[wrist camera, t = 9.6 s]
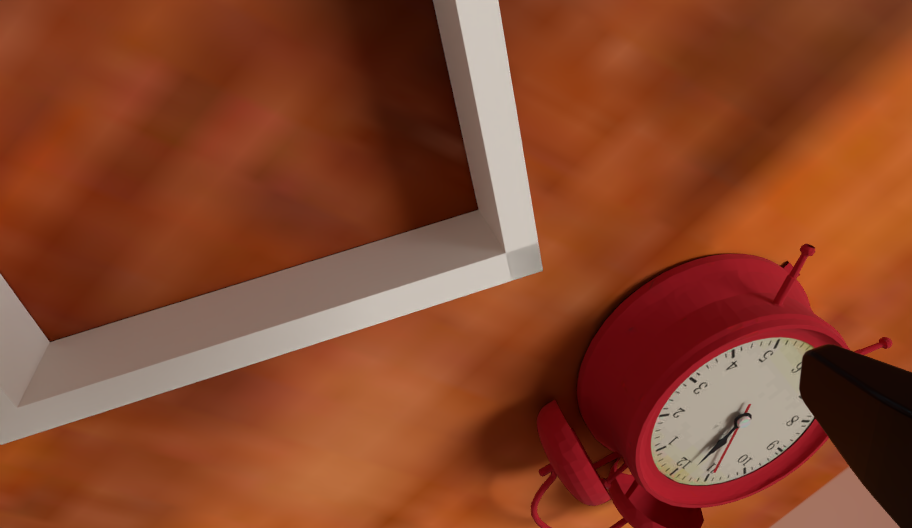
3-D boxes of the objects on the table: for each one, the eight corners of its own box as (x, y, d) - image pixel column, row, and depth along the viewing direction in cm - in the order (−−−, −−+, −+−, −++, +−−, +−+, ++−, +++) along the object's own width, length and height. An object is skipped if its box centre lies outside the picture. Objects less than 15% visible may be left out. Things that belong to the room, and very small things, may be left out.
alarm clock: (928, 360, 25) (699, 658, 26) (795, 302, 31) (608, 548, 31) (813, 219, 20) (530, 593, 21) (678, 179, 26) (456, 476, 26)
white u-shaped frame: (35, 376, 20) (1, 444, 18) (-314, -79, 13) (-451, -71, 11) (512, 226, 22) (542, 270, 19) (421, -253, 15) (451, -282, 12)
